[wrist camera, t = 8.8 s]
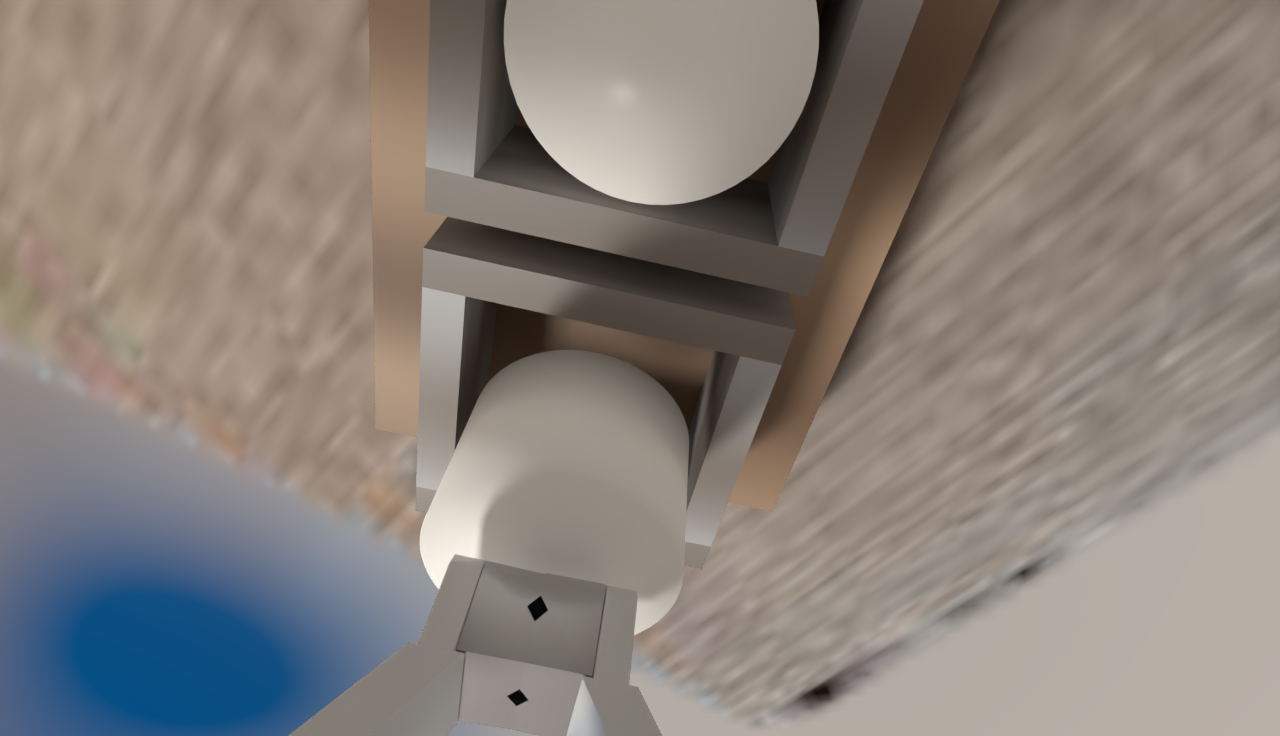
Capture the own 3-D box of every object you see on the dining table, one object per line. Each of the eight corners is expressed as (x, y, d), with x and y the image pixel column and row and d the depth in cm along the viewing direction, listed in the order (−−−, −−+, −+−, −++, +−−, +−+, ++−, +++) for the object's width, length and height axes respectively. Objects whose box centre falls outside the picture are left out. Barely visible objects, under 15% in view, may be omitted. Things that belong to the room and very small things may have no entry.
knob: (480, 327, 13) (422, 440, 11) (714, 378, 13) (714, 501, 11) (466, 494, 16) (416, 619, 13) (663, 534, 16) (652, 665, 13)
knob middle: (564, -165, 11) (520, -177, 9) (833, -98, 12) (869, -89, 9) (533, 113, 14) (491, 171, 11) (754, 164, 14) (764, 231, 11)
